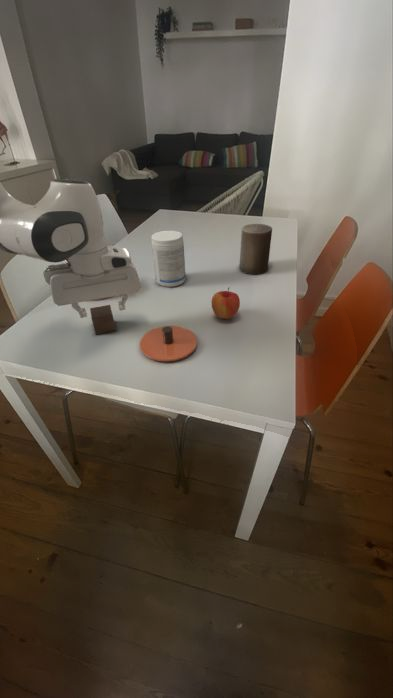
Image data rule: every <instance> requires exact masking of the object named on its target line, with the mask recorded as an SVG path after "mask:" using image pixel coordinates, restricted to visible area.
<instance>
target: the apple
mask: <svg viewBox="0 0 393 698" xmlns="http://www.w3.org/2000/svg"><path fill="white" fill-rule="evenodd" d="M240 300H241V299H240V297H239V295H238V294H237V293H236V292H233V291H230V287H229V286H228V287H227V290H221V291H217V292H215V293H214V294H213V296H212V298H211V301H210V303H211V304H210V305H211V309H212V311H213V313H214V315H215V316H216V317H217V318H219V319H225V320H229V319H232V318H233V317H235V315H236V314H237V313H238V311H239V309H240V307H241V301H240Z"/></svg>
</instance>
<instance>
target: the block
mask: <svg viewBox="0 0 393 698" xmlns="http://www.w3.org/2000/svg"><path fill="white" fill-rule="evenodd" d="M89 310H90V318H91V322H92V325H93V329H94V330H93V331H94V333H95V335H96V336H98V335H103V334H107V333H113V332H117V329H116V324H115V320H114V315H113V311H112V305H111V304H106V305H101V306H95V307H90V308H89Z"/></svg>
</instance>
